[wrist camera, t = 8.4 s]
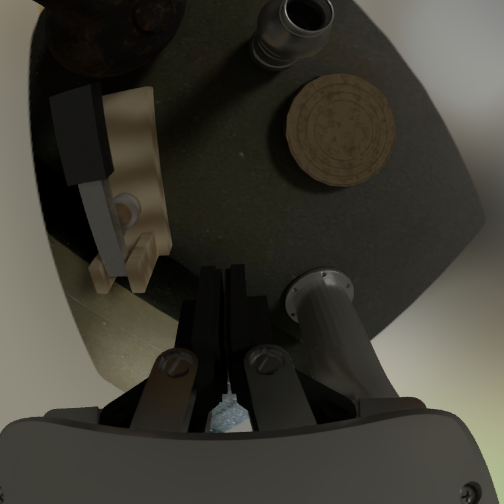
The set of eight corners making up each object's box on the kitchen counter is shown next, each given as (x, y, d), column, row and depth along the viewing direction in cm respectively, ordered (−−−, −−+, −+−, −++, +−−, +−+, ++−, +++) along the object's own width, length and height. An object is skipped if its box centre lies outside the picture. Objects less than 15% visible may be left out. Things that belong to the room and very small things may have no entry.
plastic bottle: (241, 65, 33) (250, 37, 16) (255, 22, 30) (276, -38, 12) (289, 78, 34) (340, 66, 17) (302, 35, 31) (362, -7, 14)
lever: (141, 261, 37) (134, 278, 34) (107, 263, 37) (100, 280, 34) (104, 81, 24) (90, 84, 21) (65, 92, 24) (49, 97, 21)
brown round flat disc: (262, 97, 36) (265, 97, 33) (364, 61, 33) (373, 59, 30) (307, 197, 43) (312, 204, 41) (398, 158, 40) (407, 163, 38)
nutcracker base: (172, 245, 45) (156, 292, 35) (114, 248, 45) (87, 293, 35) (152, 87, 33) (121, 85, 23) (87, 101, 33) (41, 108, 23)
